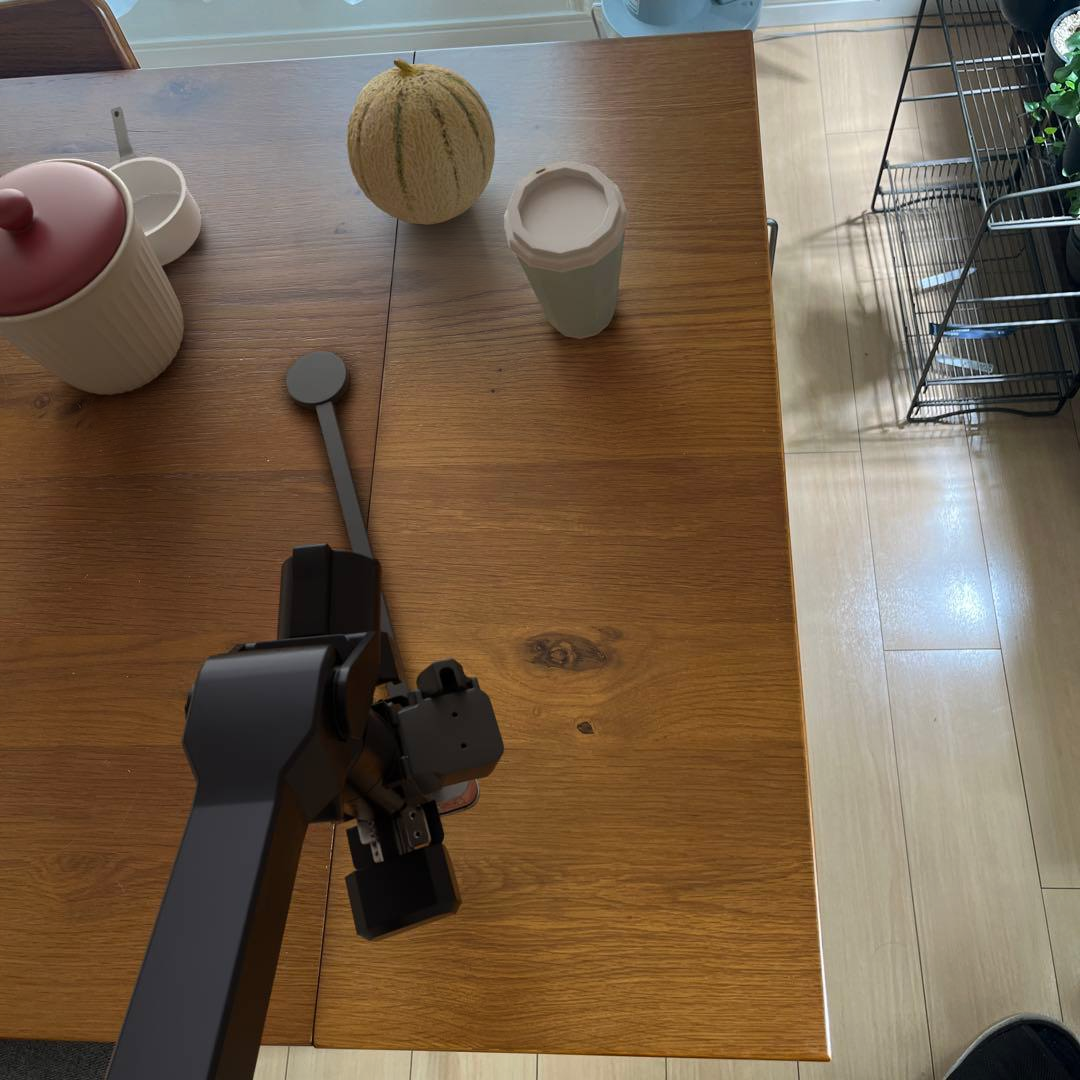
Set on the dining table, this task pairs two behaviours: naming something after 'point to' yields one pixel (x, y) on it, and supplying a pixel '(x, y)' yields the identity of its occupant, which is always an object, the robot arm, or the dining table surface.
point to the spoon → (338, 457)
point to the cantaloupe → (421, 143)
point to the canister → (83, 278)
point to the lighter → (456, 797)
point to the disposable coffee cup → (569, 243)
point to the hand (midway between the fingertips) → (408, 798)
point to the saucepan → (157, 198)
